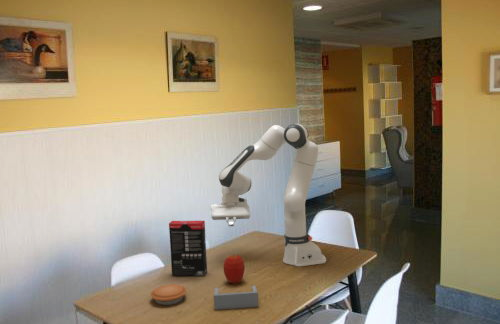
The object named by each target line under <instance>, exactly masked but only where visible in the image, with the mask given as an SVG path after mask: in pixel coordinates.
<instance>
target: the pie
mask: <svg viewBox="0 0 500 324" xmlns="http://www.w3.org/2000/svg"><path fill="white" fill-rule="evenodd" d="M187 290H188V289H187V288H186V287H185V286H182V285H179V284H175V283H174V284H171V283H170V284H164V285H161V286H158V287H157V288H154V289H153V290H152V291H151V292H150V297H151V298H152V299H153V300H154V302H156V303H157V304H158V305H161V304H162V305H161V306H171V305H175V304H178V303H180V302H181V301H182V300H183V298H184V297H185V295H186V293H187Z"/></svg>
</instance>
